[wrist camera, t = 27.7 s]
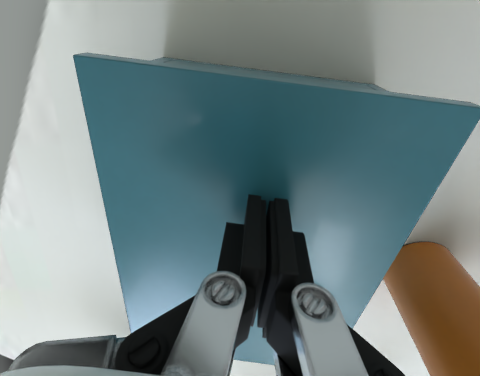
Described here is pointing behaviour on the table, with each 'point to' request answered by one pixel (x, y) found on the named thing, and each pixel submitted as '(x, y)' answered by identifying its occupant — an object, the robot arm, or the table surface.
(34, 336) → the table surface
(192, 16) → the table surface
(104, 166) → the lid
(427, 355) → the bottle
